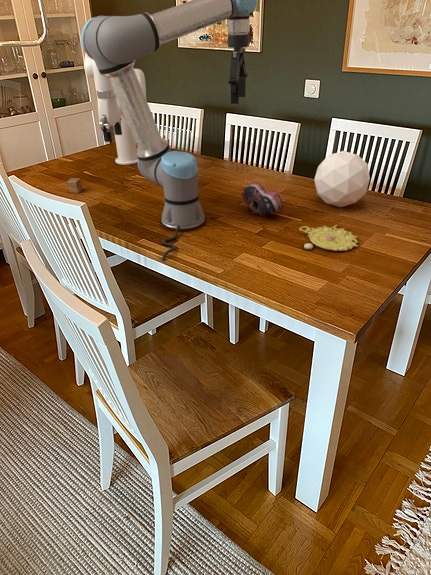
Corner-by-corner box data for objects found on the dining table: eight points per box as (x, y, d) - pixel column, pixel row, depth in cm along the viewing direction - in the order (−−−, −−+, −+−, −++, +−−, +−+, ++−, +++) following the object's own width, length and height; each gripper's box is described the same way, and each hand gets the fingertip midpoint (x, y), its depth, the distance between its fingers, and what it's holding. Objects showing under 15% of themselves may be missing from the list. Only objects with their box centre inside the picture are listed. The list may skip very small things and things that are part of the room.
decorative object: (343, 255, 128) (285, 234, 139) (342, 262, 130) (284, 241, 140) (372, 230, 142) (317, 213, 152) (371, 237, 143) (316, 219, 153)
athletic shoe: (254, 181, 170) (227, 189, 167) (283, 176, 151) (253, 185, 147) (260, 210, 173) (234, 218, 170) (290, 209, 154) (261, 219, 150)
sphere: (345, 225, 166) (360, 196, 147) (300, 198, 170) (308, 167, 152) (371, 189, 170) (388, 157, 152) (326, 164, 175) (337, 130, 156)
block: (74, 189, 188) (71, 178, 185) (83, 189, 187) (80, 178, 184) (69, 192, 184) (66, 181, 182) (78, 193, 183) (76, 181, 181)
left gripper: (108, 89, 183) (114, 131, 193) (87, 99, 170) (95, 143, 180) (124, 90, 182) (130, 132, 192) (105, 99, 168) (112, 144, 178)
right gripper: (234, 32, 163) (234, 94, 174) (219, 36, 142) (221, 106, 154) (254, 31, 161) (253, 94, 173) (242, 36, 141) (242, 106, 152)
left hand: (113, 138), depth 186 cm, fingers open, 9 cm apart
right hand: (238, 100), depth 163 cm, fingers open, 13 cm apart
